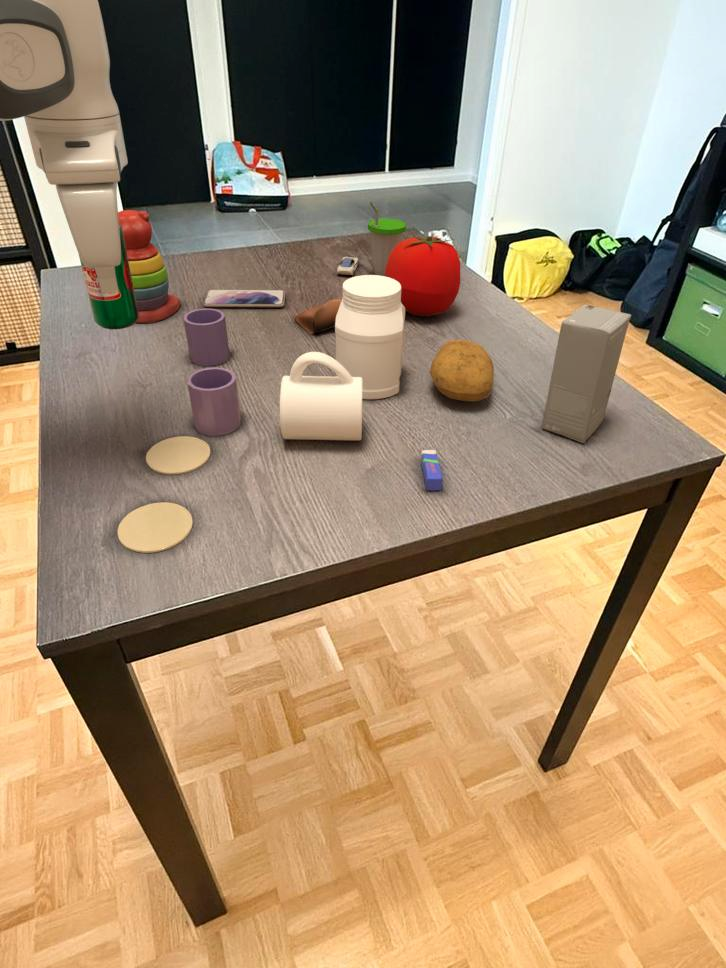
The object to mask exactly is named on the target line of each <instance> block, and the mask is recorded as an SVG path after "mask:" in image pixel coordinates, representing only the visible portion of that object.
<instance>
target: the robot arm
mask: <svg viewBox="0 0 726 968" xmlns="http://www.w3.org/2000/svg"><path fill="white" fill-rule="evenodd" d="M106 35H107V34H106V30H105V26H104V21H103V17H102V12H101V8H100V3H99V0H0V122H1V121H2V122H6V121H12V120H16V119H21V118H23V120H24V122H25V125H26V130H27V133H28V134H27V135H28V137H29V142H30V145H31V149H32V150H31V151H32V154H33V157H34V161H35V164H36V167H37V168H38V169H40V170H41V171H42V172H43V173H44V174H45V178H46V181H47V182H48V184H49V185H51V186H55V190H56V193H57V195H58V199H59V202H60V205H61V208H62V211H63V214H64V217H65V219H66V222H67V226H68V229H69V231H70V234H71V237H72V239H73V243H74V245H75V248H76V251H77V253H79V254H78V257H79V256H80V258H81V260H82V262H83V264H84V266H85V267H87V268H95V271H96V274H97V276H98V280H99V284H100V288H101V291H102V292H103V293H115V292H117V291H118V285H117V280H116V275H115V266H118V265H120V263H121V241H120V230H119V218H118V212H119V209H118V193H117V190H118V183H120V181H121V174H122V172H123V169H124V167H126V166H127V165H128V163H129V160H128V155H127V149H126V143H125V137H124V131H123V126H122V120H121V115H120V110H119V106H118V103H117V101H116V99H115V97H114V94H113V91H112V88H111V87H112V86H111V83H110V82H111V81H110V71H111V70H110V68H111V57H110V52H109V47H108V41H107V36H106ZM80 258H79V259H80Z"/></svg>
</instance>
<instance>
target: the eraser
mask: <svg viewBox="0 0 726 968" xmlns="http://www.w3.org/2000/svg"><path fill="white" fill-rule="evenodd" d="M420 463H421V469H422V470H421V471H422V474H423V479H424V484H425V489H426V490H427V491H441V489H442V486H443V474H442V470H441V466H440V463H439V458H438V453H437V451H436V449H422V450H421V452H420Z"/></svg>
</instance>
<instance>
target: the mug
mask: <svg viewBox="0 0 726 968" xmlns="http://www.w3.org/2000/svg"><path fill="white" fill-rule="evenodd" d="M311 364H321V365H324V366H326V367H327V368H328V369H330V370H331V371H333V372H334V374H335V375H336V374H337V375H338V377H336V376H328V375H327V376H326V375H324V376H323V375H321V376H320V375H304V371H305V369H306V368H307V367H308V366H309V365H311ZM362 394H363V379H362V378H361V377H351V375H350V374H349V372H348V371H347V370H346V369H345V368H344V367H343V366H342V365H341V364H340V363H339V362H338V361H336V358H333V357H332V356H330V355H329V354H327V353H324V352H321V351H309V352H306V353H303V354H301V355H300V356H298V357H297V359H296V360H295V361H294V362H293V364H292V366H291V369H290V372H289V375H283V376H282V378H281V382H280V391H279V427H280V435H281V437H282V438H283V440H307V441H309V440H311V441H315V440H317V441H361V440H362V437H363V436H362V435H363V433H362V432H363V399H362Z"/></svg>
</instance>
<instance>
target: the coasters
mask: <svg viewBox="0 0 726 968" xmlns="http://www.w3.org/2000/svg"><path fill="white" fill-rule="evenodd" d="M211 453H212V452H211V447H210V445H209V444H208V443H207V442H206V441H205V440H203V439H201V438H199V437H194V436H188V435H187V436H186V435H185V436H184V435H181V436H173V437H169V438H166V439H163V440H161V441H159V442H156V444H153V445H152V447H150V449H148V451H147V452H146V454H145V455H146V456H145V461H146V464H147V466H148V467H149V469H151V470H152V471H154V472H155V473H159V474H163V475H172V476H173V475H174V476H175V475H183V474H188V473H191V472H193V471H195V470H198V469H200V468H201V467H203V466H204V465H205V464H206V463H208V460H209V459H210V457H211ZM193 521H194V520H193V517H192V514H191V512H190V511H189V510H188V509H187V508H185V507H184V506H183V505H180V504H178V503H173V502H167V501H166V502H165V501H163V502H153V503H148V504H145V505H142V506H140V507H137V508H135V509H133V510H132V511H131V512H129V513H128V514H126V515H125V516H124V517H123V519H122V520H121V521H120V523H119V525H118V528H117V537H118V540H119V542H120V544H121V545H122V546H123V547H124V548H126V549H127V550H130V551H133V552H136V553H141V554H153V553H159V552H164V551H166V550H169V549H172V548H174V547H175V546H178V545H179V544H180V543H182V542H183V541H184V540H185V539H186V538H187V537H188V536H189V535H190V533H191V531H192V529H193V526H194V525H193V524H194V522H193Z"/></svg>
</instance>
